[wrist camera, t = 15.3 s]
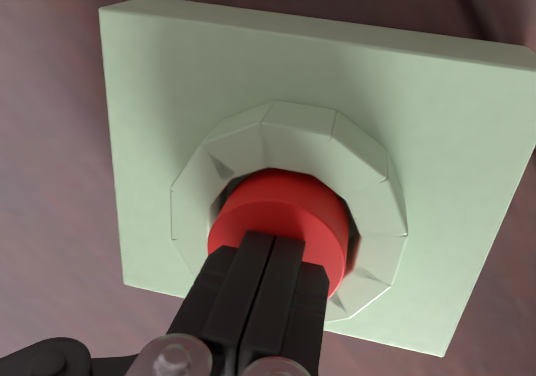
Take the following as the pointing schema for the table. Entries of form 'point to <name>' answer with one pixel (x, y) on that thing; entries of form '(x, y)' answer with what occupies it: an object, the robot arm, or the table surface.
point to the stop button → (287, 217)
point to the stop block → (318, 148)
